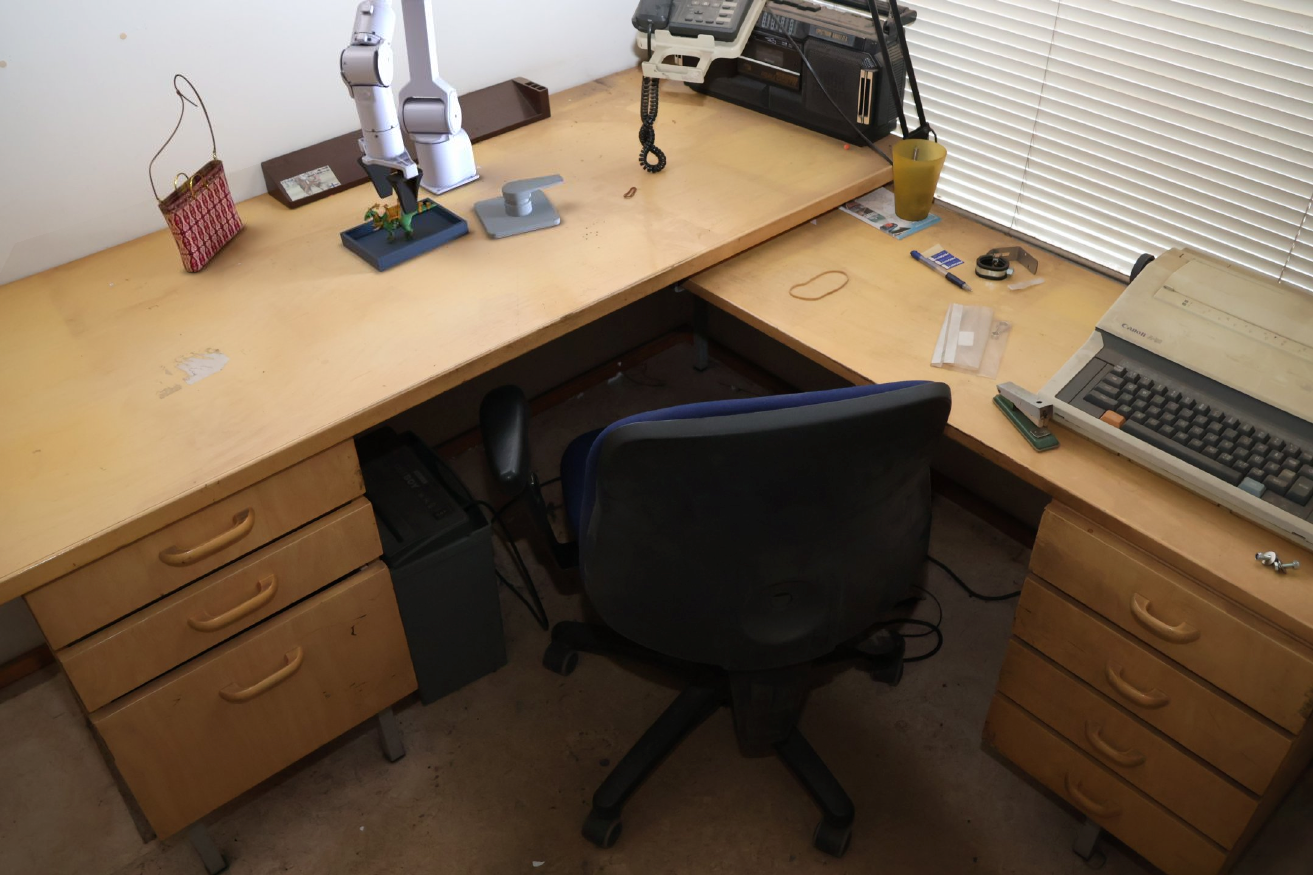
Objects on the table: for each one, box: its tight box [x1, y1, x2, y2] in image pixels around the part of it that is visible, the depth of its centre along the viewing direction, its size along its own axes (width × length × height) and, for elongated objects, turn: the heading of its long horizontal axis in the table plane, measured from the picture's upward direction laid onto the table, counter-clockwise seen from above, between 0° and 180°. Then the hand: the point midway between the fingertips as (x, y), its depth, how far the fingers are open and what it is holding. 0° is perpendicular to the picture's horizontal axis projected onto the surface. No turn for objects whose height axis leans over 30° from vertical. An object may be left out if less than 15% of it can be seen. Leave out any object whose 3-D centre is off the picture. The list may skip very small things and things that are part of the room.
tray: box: [339, 197, 470, 272], centre depth 168 cm, size 17×12×2 cm
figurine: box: [363, 197, 437, 243], centre depth 165 cm, size 3×12×8 cm, turn 108°
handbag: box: [148, 73, 243, 273], centre depth 162 cm, size 7×21×25 cm, turn 168°
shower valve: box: [473, 173, 565, 240], centre depth 172 cm, size 12×6×15 cm
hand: (398, 204), depth 164 cm, fingers open, 7 cm apart
